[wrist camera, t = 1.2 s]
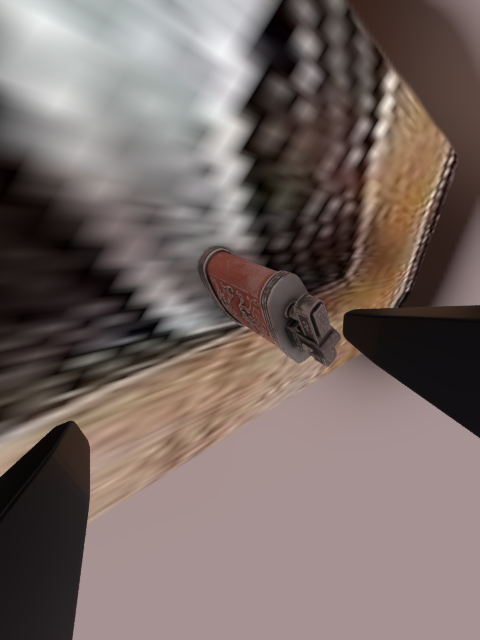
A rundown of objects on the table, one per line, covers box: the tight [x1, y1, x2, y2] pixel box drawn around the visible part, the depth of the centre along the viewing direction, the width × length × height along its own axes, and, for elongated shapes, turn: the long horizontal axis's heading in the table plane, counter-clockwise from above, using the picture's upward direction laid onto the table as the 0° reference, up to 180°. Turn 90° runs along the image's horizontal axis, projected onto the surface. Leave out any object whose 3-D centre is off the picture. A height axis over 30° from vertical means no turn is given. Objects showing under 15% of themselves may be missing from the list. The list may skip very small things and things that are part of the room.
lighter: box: [198, 246, 341, 367], centre depth 18 cm, size 8×3×10 cm, turn 31°
